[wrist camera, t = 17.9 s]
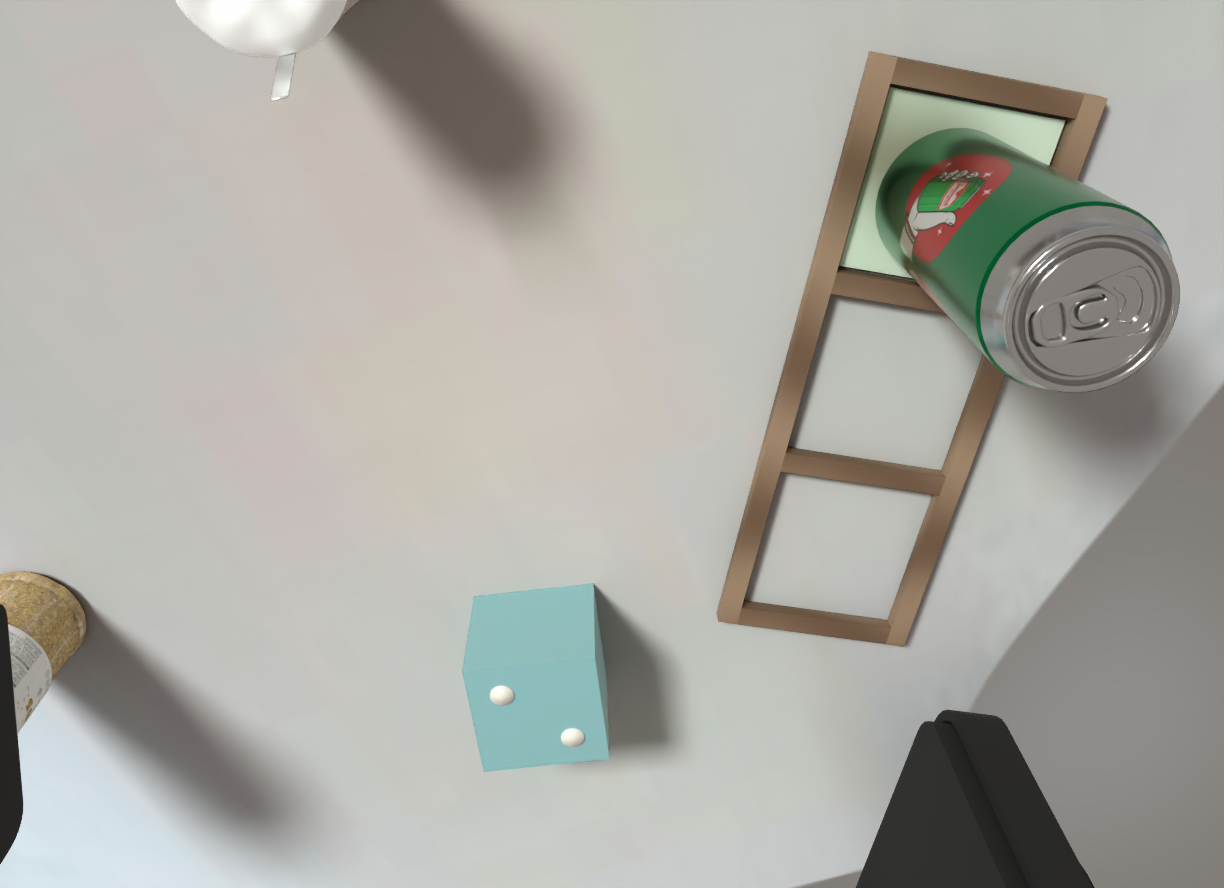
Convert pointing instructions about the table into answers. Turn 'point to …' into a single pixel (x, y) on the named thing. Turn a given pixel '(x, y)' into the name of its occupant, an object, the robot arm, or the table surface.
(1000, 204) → the soda can
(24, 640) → the sprinkles bottle
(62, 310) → the table surface
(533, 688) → the die
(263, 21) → the milkshake
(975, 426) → the wooden frame
